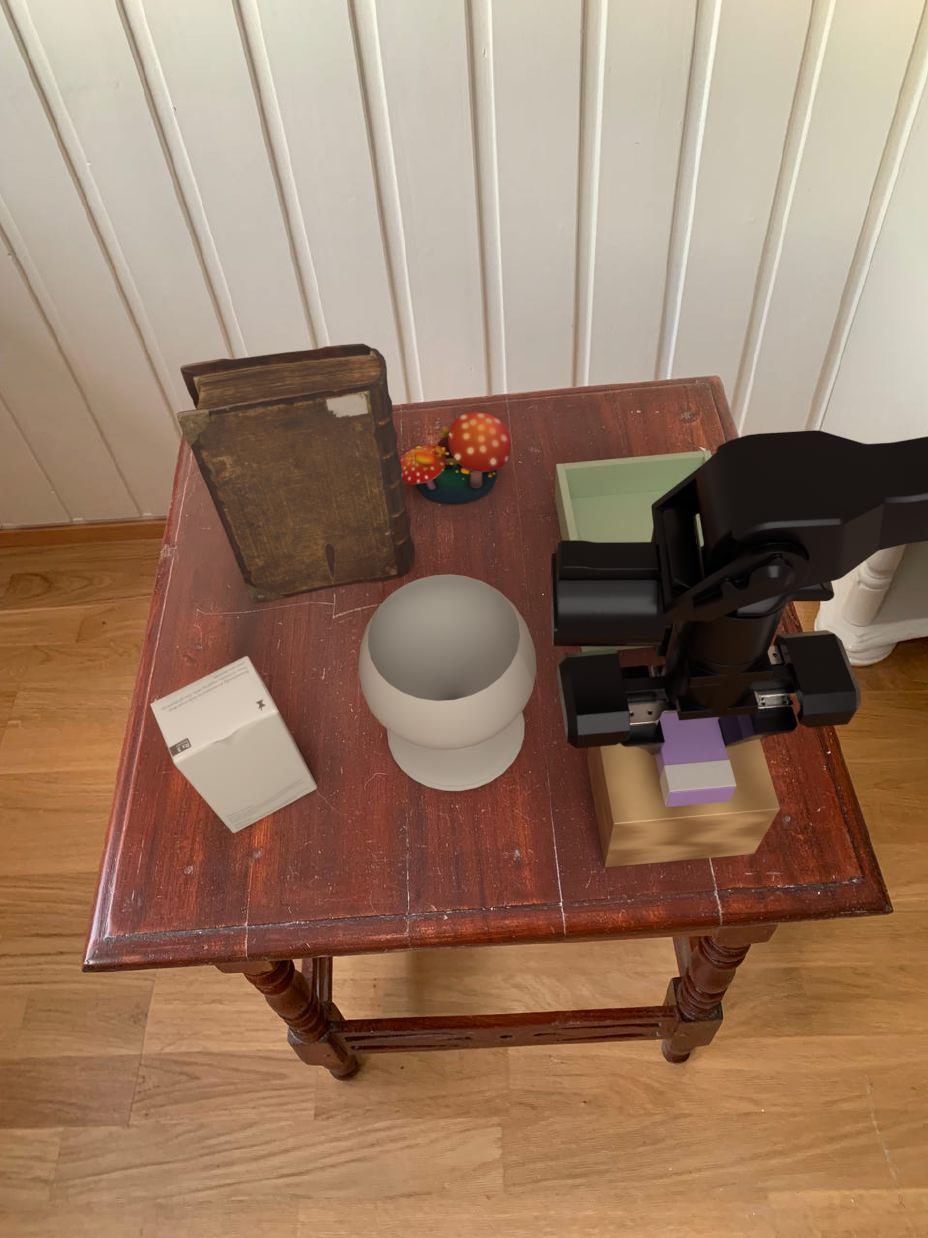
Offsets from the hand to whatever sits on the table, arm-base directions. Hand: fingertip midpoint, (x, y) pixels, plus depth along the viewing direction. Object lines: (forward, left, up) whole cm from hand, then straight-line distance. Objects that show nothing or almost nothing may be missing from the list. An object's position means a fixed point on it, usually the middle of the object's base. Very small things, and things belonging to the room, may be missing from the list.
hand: (685, 745), depth 66 cm
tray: (-3, -25, -11) cm, 28 cm away
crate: (0, 0, -11) cm, 11 cm away
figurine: (+15, -40, -11) cm, 44 cm away
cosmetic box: (+34, -5, -11) cm, 36 cm away
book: (+28, -28, -11) cm, 41 cm away
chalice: (+17, -9, -11) cm, 22 cm away
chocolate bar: (0, 0, 0) cm, 0 cm away
